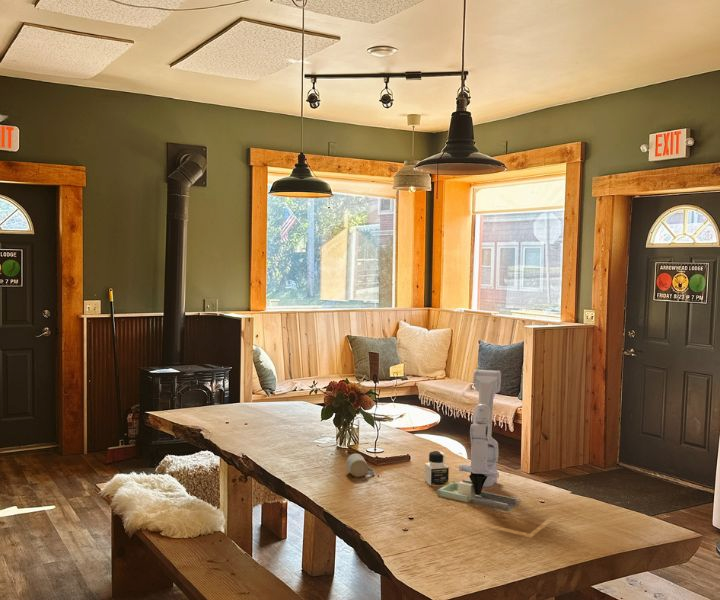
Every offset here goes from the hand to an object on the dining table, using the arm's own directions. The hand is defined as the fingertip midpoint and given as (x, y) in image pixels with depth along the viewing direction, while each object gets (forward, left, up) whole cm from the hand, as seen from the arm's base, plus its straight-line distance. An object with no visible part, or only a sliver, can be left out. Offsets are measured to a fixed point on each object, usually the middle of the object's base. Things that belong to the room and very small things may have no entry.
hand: (478, 494), depth 267 cm
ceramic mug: (0, -51, -3) cm, 51 cm away
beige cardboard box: (0, -4, -2) cm, 4 cm away
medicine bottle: (-9, -22, -3) cm, 24 cm away
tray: (0, -7, -2) cm, 8 cm away
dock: (0, +6, -2) cm, 7 cm away
